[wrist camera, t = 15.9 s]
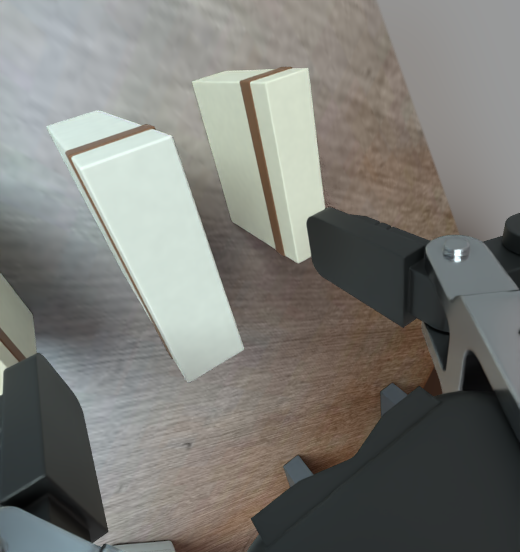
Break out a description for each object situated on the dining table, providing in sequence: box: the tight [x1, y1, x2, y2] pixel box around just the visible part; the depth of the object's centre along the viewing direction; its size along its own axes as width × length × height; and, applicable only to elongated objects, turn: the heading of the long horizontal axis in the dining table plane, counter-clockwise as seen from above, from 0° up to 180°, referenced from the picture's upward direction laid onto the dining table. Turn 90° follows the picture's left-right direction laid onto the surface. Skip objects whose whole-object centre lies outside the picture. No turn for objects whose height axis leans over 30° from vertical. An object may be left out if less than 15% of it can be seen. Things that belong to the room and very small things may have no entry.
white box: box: [47, 110, 244, 383], centre depth 15 cm, size 2×8×10 cm, turn 14°
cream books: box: [0, 67, 325, 395], centre depth 16 cm, size 16×8×7 cm, turn 104°
